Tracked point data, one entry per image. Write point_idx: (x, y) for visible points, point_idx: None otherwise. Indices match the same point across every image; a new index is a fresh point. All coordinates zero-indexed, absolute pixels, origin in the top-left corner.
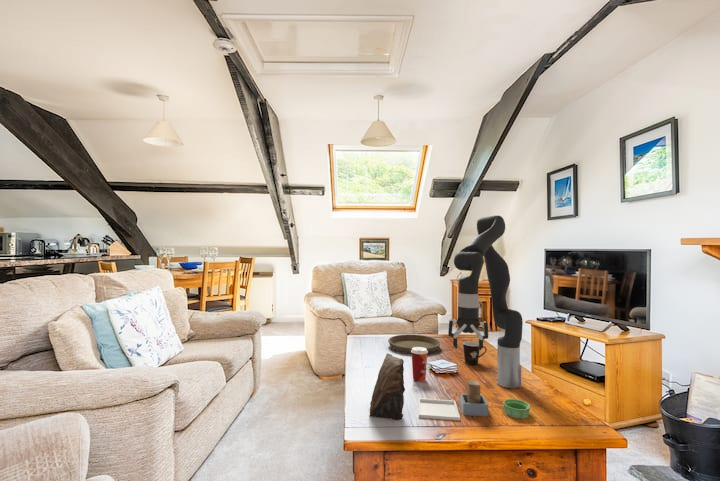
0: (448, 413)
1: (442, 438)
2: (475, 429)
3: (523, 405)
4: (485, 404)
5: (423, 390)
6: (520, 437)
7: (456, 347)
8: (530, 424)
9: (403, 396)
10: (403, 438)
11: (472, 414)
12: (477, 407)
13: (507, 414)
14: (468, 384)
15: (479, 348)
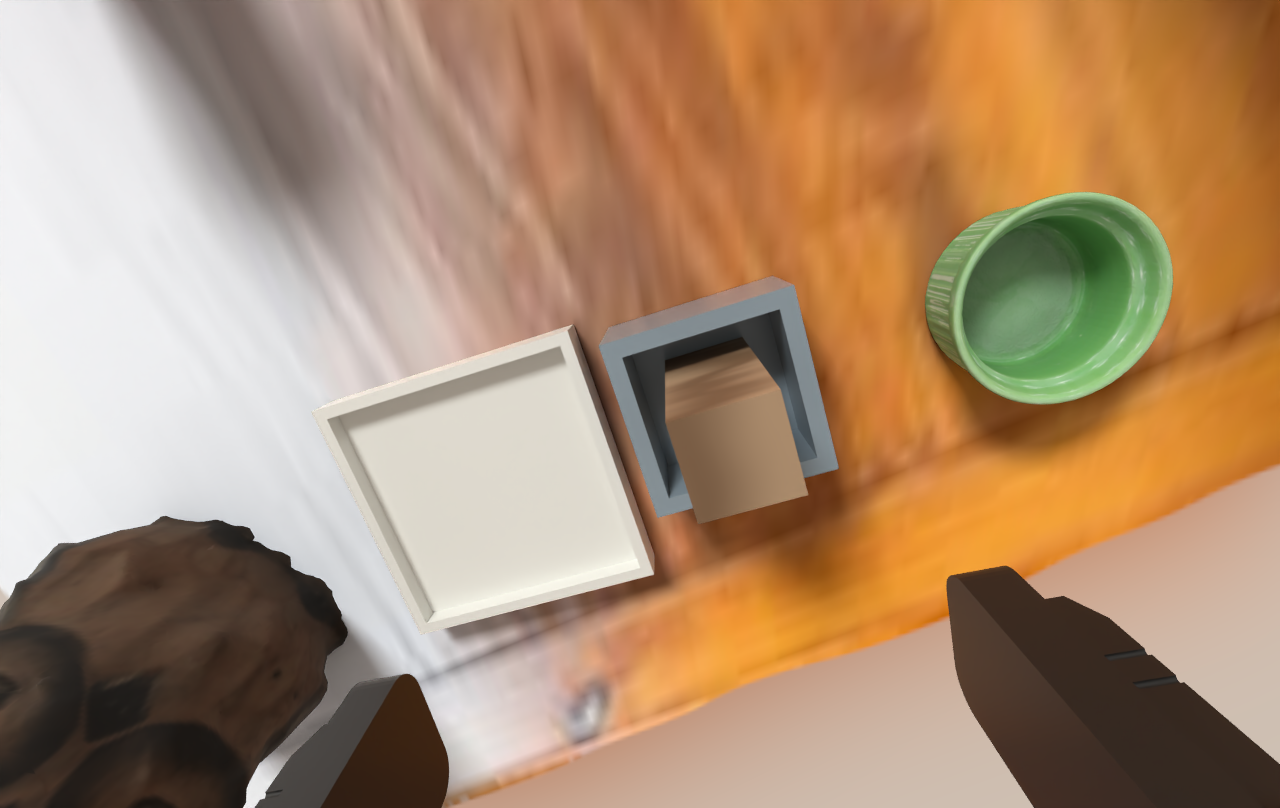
0: (568, 505)
1: (604, 727)
2: (747, 585)
3: (1110, 234)
4: (818, 470)
5: (255, 130)
6: None
7: (427, 800)
8: None
9: (258, 672)
10: None
11: None
12: None
13: (949, 355)
14: (689, 494)
15: (991, 730)
